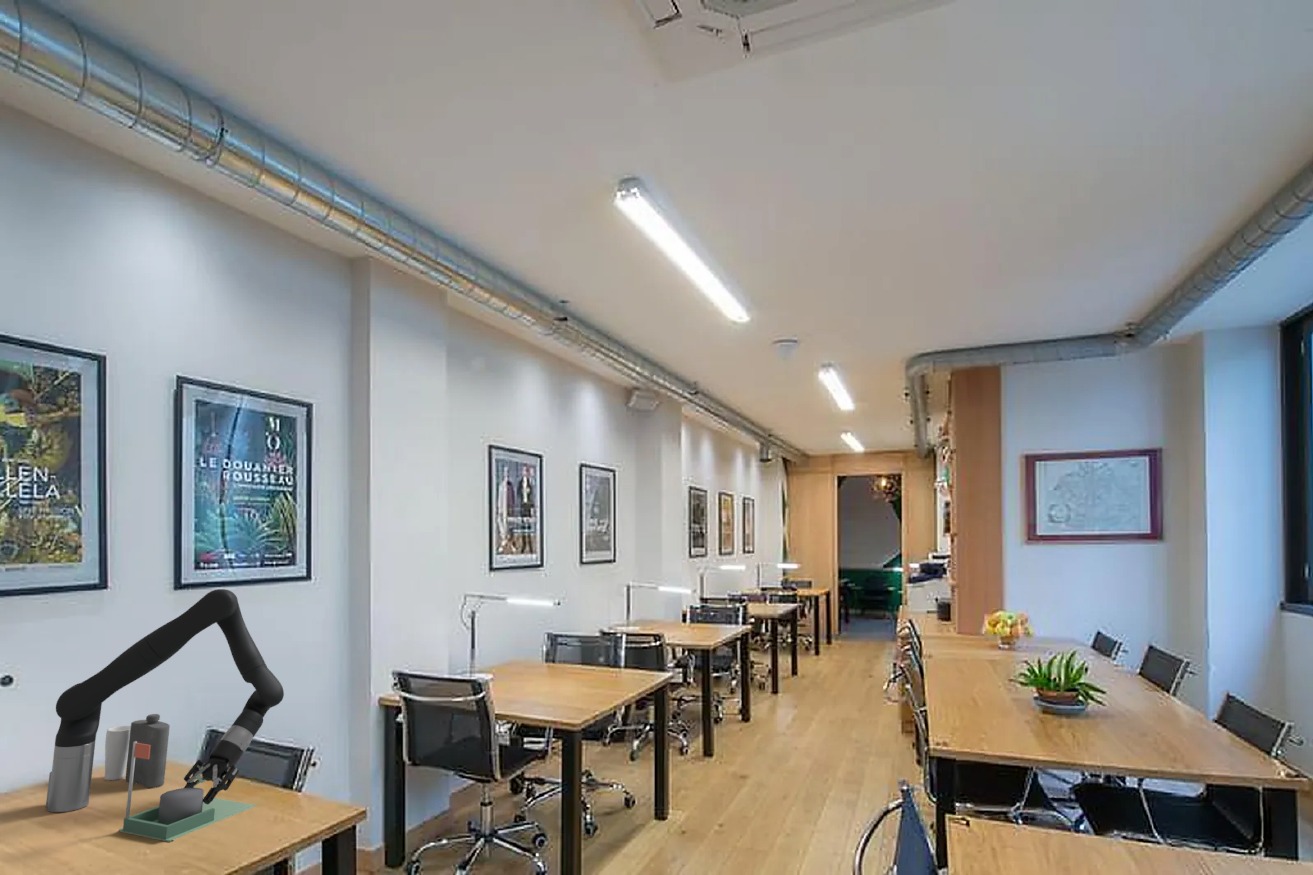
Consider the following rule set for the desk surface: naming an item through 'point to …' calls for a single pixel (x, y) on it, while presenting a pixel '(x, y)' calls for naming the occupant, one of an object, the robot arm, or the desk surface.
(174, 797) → the grey domed cylinder
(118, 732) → the drinking glass
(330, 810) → the desk surface
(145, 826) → the mini golf green
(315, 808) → the desk surface
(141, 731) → the flask
